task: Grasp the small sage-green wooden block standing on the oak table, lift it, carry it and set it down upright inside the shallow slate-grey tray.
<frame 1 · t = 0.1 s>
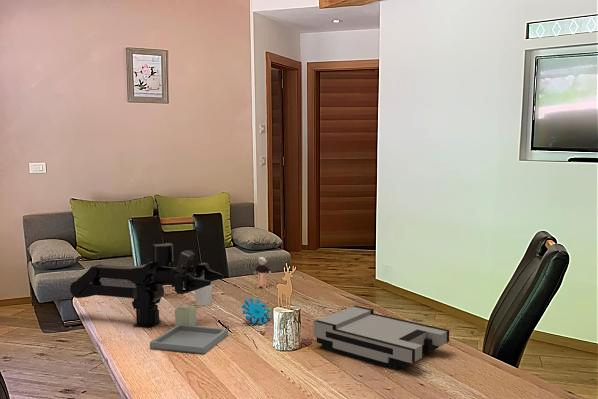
hand: (217, 279, 182), 17 cm above the table, tool horizontal, fingers open, 9 cm apart
grandmother figurine: (262, 287, 237), on the table
drinking glass: (203, 304, 214), on the table
sage block: (186, 325, 189), on the table
game console: (380, 352, 165), on the table
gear: (257, 322, 192), on the table
tray: (190, 341, 173), on the table
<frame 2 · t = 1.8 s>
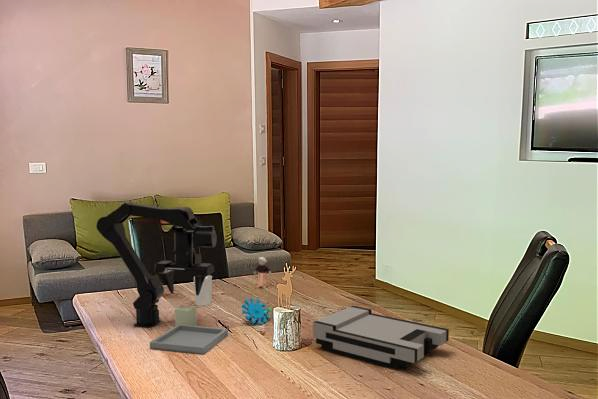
hand: (184, 294, 188), 10 cm above the table, tool pointing down, fingers open, 9 cm apart
nothing on the table moved.
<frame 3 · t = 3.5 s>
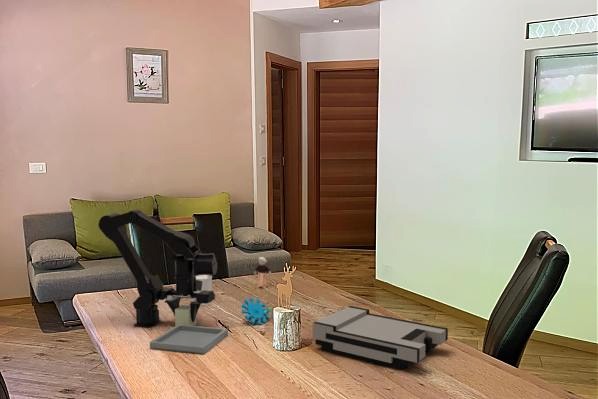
hand: (185, 321, 189), 2 cm above the table, tool pointing down, fingers closed on sage block, 5 cm apart
sage block: (186, 325, 189), on the table, touching gripper
everything else where it was.
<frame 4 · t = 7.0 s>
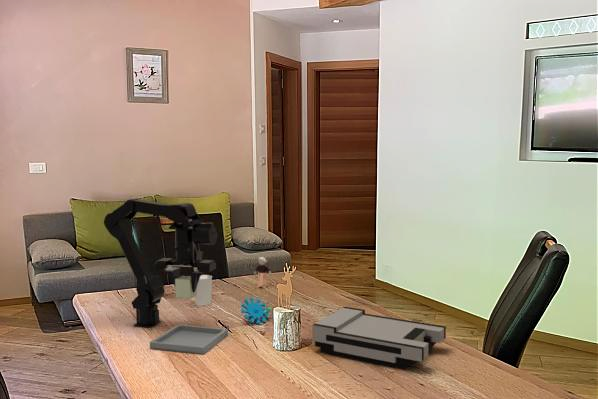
hand: (186, 291, 184), 12 cm above the table, tool pointing down, fingers closed on sage block, 5 cm apart
sage block: (186, 296, 185), point 11 cm above the table, touching gripper
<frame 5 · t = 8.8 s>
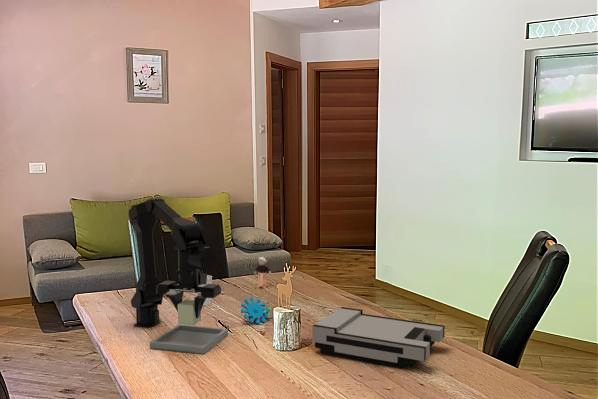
hand: (189, 317, 173), 8 cm above the table, tool pointing down, fingers closed on sage block, 5 cm apart
sage block: (189, 322, 173), point 6 cm above the table, touching gripper
when the fingers open (3 cm above the table, at t = 10.3 s): sage block drops 1 cm, resting on tray.
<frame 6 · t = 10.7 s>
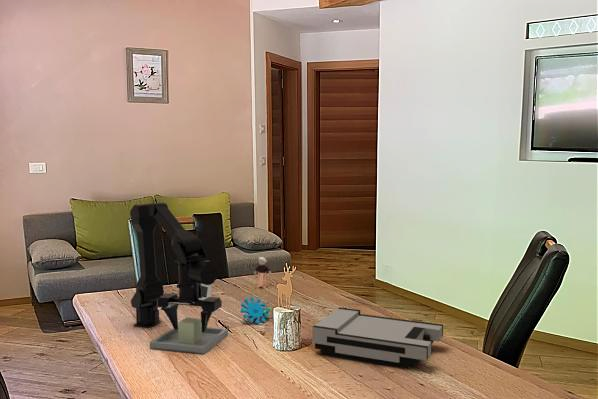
hand: (189, 330, 173), 3 cm above the table, tool pointing down, fingers open, 9 cm apart
sage block: (190, 340, 173), resting on tray
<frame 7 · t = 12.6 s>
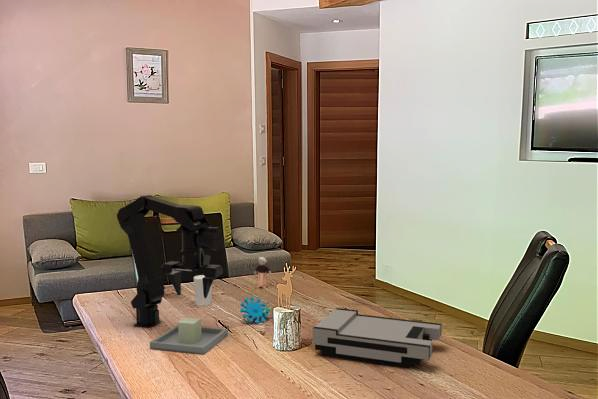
hand: (192, 296, 180), 12 cm above the table, tool pointing down, fingers open, 9 cm apart
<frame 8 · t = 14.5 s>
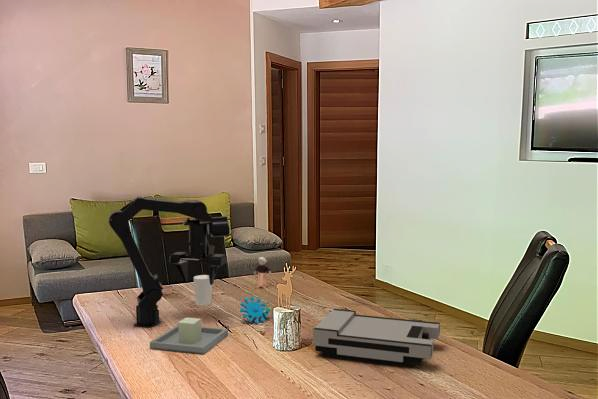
hand: (198, 283, 195), 12 cm above the table, tool pointing down, fingers open, 9 cm apart
at the end: sage block inside the target area on the tray (0.1 cm from its centre), point 0.5 cm above the tray's base; sage block tilted 0°; the gripper is holding nothing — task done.
